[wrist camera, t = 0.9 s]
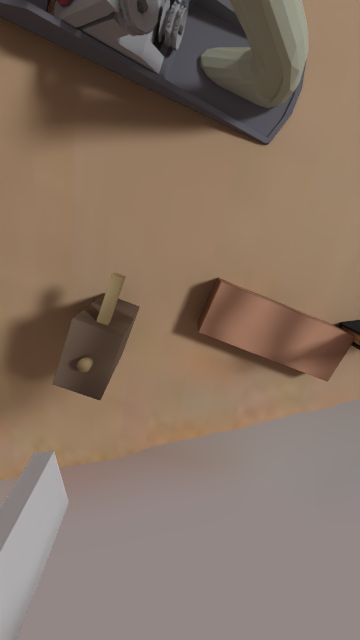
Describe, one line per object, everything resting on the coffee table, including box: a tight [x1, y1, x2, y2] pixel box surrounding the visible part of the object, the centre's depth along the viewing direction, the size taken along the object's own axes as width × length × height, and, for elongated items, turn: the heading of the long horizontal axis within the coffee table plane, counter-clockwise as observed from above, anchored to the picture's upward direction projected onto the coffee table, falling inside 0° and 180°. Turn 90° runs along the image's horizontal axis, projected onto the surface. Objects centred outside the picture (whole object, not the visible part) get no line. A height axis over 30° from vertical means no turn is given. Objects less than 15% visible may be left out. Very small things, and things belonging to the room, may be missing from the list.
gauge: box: [53, 273, 139, 400], centre depth 25 cm, size 4×10×10 cm, turn 158°
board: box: [197, 278, 355, 381], centre depth 29 cm, size 15×6×2 cm, turn 68°
